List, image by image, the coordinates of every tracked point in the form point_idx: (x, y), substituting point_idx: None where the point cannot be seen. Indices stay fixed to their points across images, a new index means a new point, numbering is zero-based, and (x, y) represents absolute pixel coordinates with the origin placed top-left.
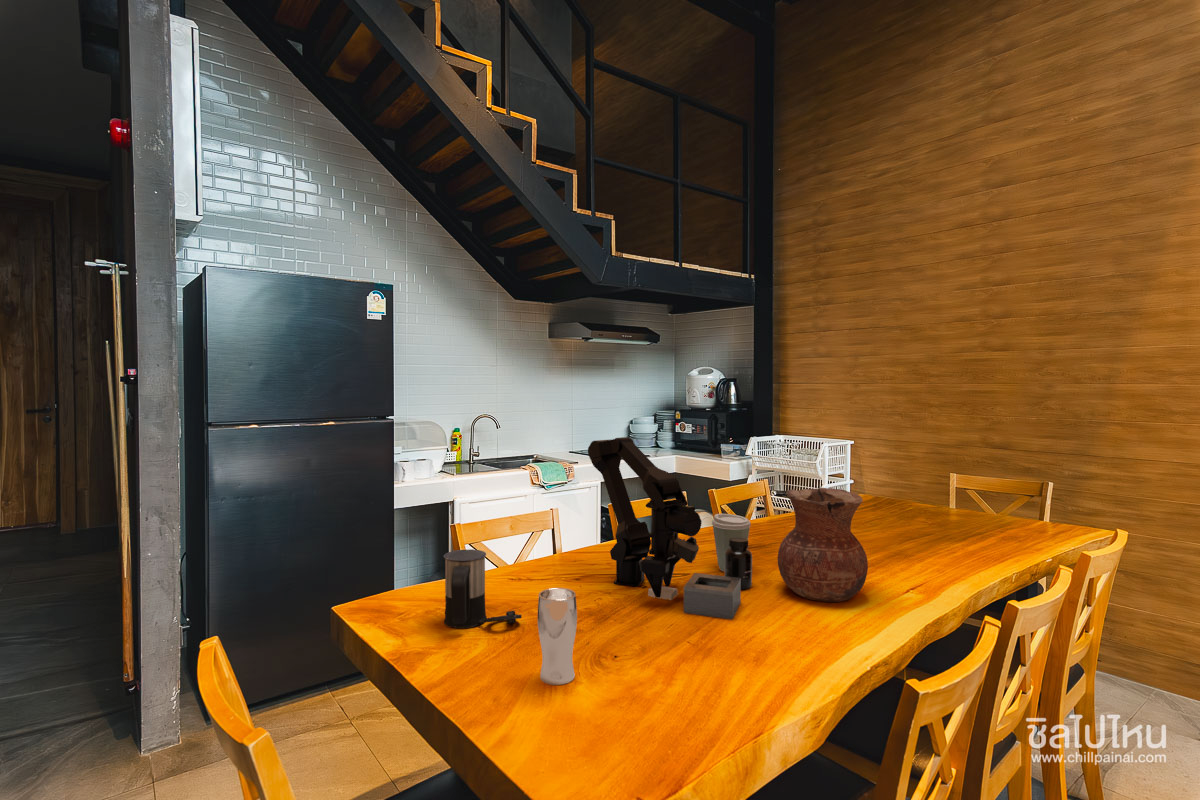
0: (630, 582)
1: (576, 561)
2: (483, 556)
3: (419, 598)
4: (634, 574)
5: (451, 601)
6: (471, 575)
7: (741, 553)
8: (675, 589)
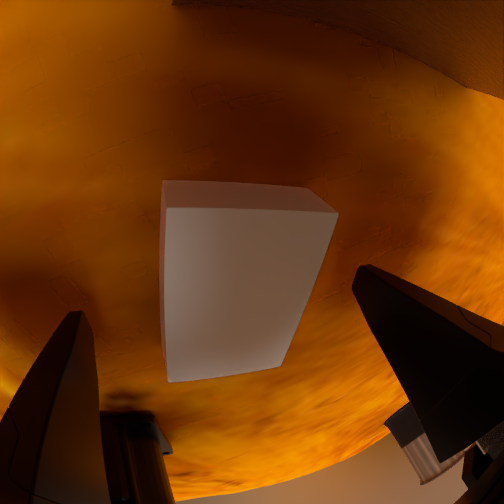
0: (150, 437)
1: None
2: (460, 459)
3: (334, 459)
4: (142, 467)
5: None
6: None
7: None
8: (204, 217)
